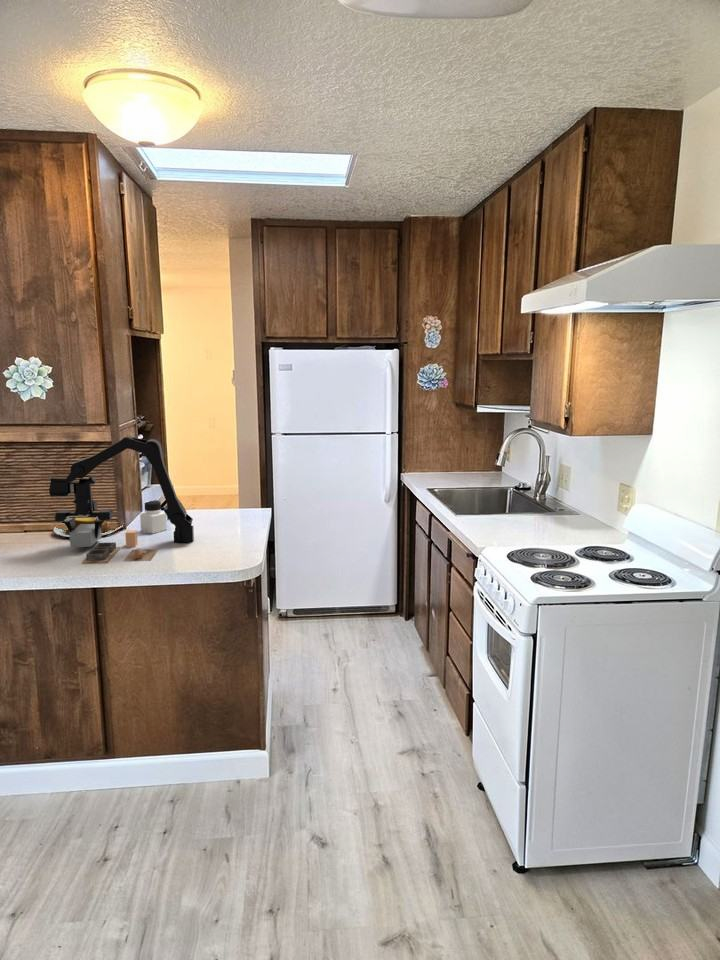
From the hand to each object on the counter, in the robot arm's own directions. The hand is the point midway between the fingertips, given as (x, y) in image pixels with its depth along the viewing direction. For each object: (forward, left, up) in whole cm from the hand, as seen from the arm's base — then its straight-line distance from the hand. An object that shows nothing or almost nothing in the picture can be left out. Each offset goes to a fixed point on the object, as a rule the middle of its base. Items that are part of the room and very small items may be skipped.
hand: (86, 538), depth 224 cm
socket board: (-9, +13, -3) cm, 16 cm away
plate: (-22, +13, -3) cm, 26 cm away
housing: (0, 0, -1) cm, 1 cm away
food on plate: (+6, -23, -4) cm, 24 cm away
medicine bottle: (-19, -22, -4) cm, 29 cm away
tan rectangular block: (-16, +1, -4) cm, 16 cm away
